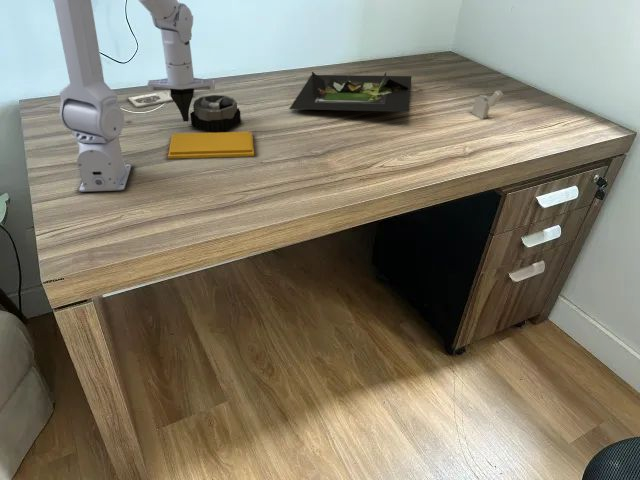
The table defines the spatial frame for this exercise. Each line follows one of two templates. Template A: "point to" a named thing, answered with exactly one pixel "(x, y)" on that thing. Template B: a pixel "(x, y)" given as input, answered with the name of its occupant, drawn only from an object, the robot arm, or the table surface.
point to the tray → (211, 145)
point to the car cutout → (151, 98)
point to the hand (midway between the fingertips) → (186, 119)
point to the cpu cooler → (215, 113)
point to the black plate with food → (355, 93)
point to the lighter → (485, 104)
